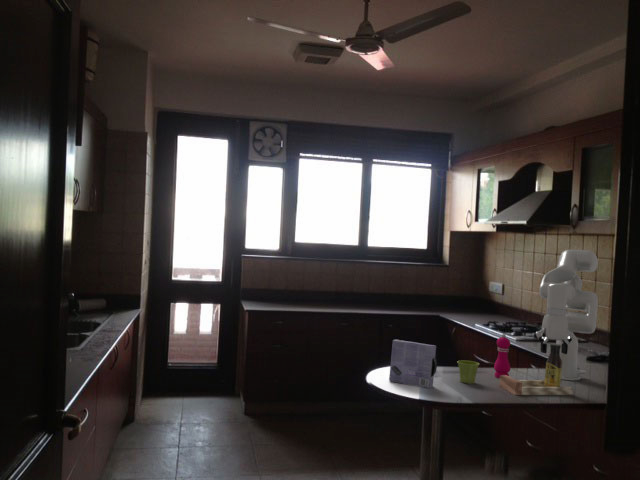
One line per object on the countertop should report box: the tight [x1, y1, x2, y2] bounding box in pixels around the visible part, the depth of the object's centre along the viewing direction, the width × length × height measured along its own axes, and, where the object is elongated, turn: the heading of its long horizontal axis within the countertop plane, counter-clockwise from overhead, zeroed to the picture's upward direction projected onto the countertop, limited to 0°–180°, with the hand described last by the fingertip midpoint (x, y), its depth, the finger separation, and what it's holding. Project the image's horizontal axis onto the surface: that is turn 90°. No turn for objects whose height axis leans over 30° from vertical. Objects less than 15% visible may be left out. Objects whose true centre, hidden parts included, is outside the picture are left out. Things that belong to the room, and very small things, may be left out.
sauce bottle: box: [544, 343, 562, 387], centre depth 236 cm, size 7×6×20 cm
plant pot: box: [456, 360, 480, 385], centre depth 244 cm, size 9×9×9 cm
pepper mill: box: [493, 333, 511, 379], centre depth 258 cm, size 7×7×20 cm
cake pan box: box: [388, 339, 438, 389], centre depth 235 cm, size 19×5×18 cm, turn 64°
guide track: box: [499, 375, 573, 396], centre depth 235 cm, size 26×12×5 cm, turn 101°
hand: (553, 353), depth 236 cm, fingers open, 9 cm apart
